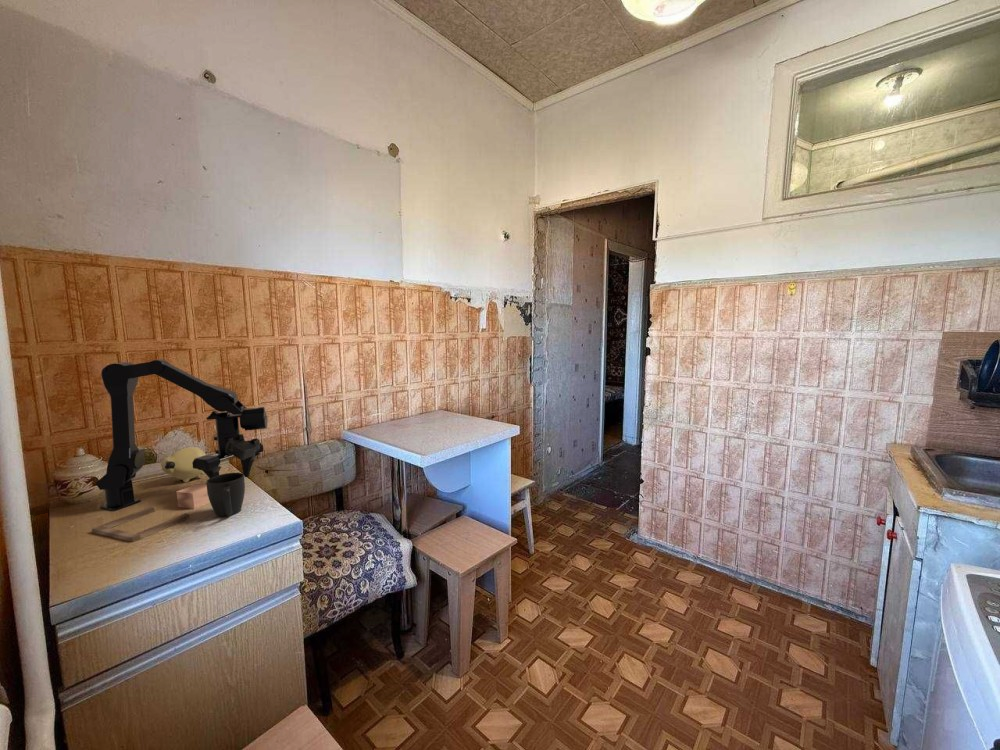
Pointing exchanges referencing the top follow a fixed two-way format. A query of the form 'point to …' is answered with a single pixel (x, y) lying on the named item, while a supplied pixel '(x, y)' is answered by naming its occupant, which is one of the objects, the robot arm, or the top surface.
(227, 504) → the mug
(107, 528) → the walnut bay
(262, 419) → the robot arm
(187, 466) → the toy pig
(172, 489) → the top surface
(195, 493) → the terracotta block
